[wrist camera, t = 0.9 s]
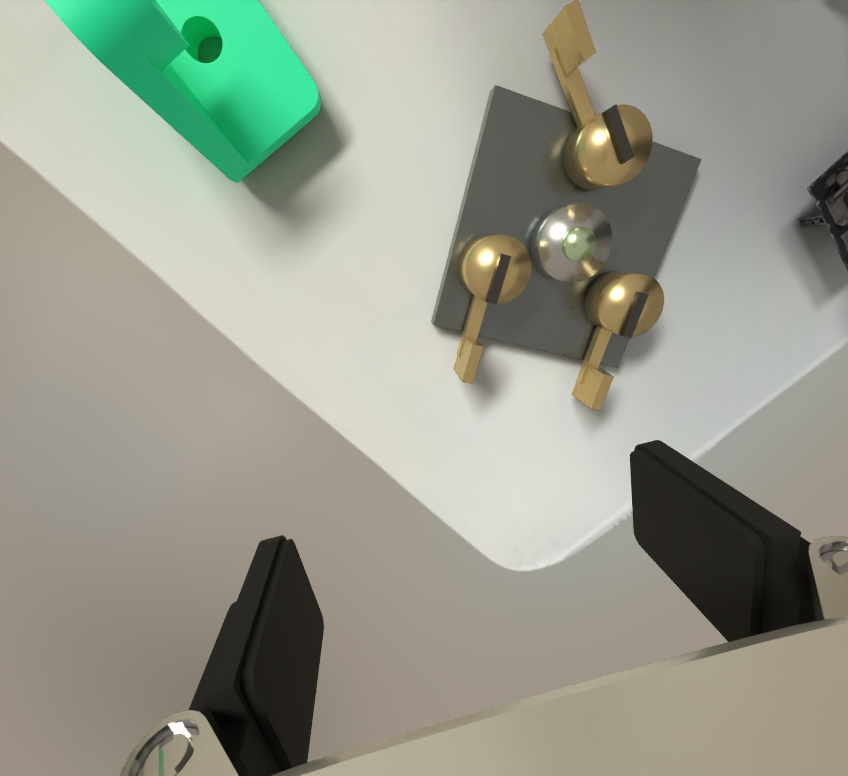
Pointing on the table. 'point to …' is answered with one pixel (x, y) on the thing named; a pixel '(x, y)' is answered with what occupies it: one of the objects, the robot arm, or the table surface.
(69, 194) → the table surface
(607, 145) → the foot screw
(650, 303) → the foot screw
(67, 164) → the table surface
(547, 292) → the levelling plate
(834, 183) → the vintage camera
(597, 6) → the table surface
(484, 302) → the foot screw
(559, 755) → the robot arm
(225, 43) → the camera mount
